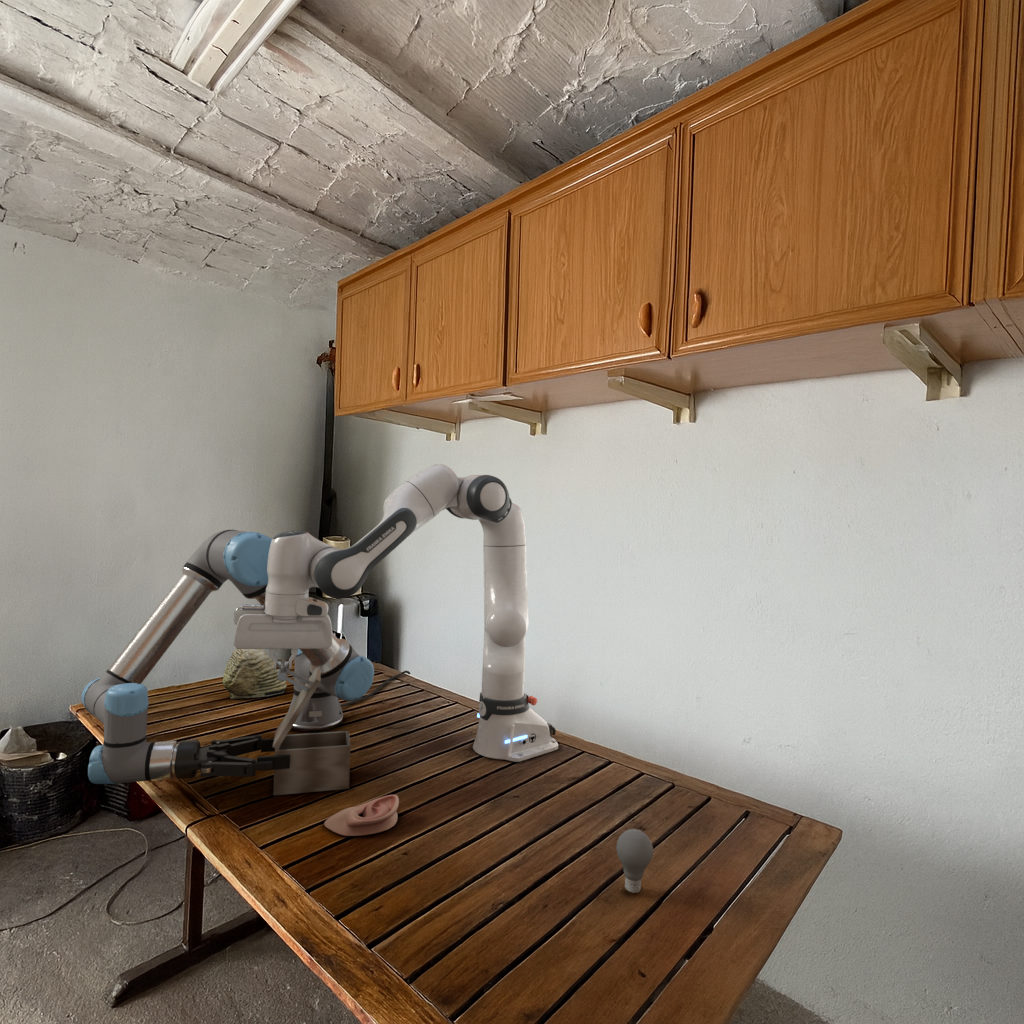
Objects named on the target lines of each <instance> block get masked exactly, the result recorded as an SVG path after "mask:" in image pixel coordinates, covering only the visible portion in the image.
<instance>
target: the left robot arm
mask: <svg viewBox="0 0 1024 1024" xmlns="http://www.w3.org/2000/svg"><path fill="white" fill-rule="evenodd" d="M272 539H273V538H272V537H269V536H267V535H266V534H263V533H260V532H257V531H244V530H236V529H224V530H220V531H217V532H215V533H213V534H212V535H210V536H208V538H207V539H206V540H204V541H203V542H202V543H201V544H200V545H199V547H198V548H197V549H196V550H195V551H194V552H193V553H192V555H191V556H190V557H189V558H188V559H187V561H185V563H184V565H183V566H182V567H181V572H182V573H181V576H180V577H179V578H178V580H177V581H176V582H175V583H174V585H173V586H172V588H170V590H169V591H168V593H166V594H165V596H164V598H163V599H162V600H161V601H160V602H159V604H158V605H157V607H156V608H155V609H154V610H153V611H152V613H151V614H150V615H149V616H148V617H147V619H146V620H145V622H144V623H143V624H142V625H141V627H140V628H139V629H138V630H137V632H136V633H135V634H134V635H133V637H132V638H131V639H130V641H129V642H128V643H127V644H126V646H125V647H124V648H123V649H122V651H121V652H120V653H119V654H118V656H117V657H116V658H115V659H114V661H113V662H112V663H111V665H110V666H109V667H108V668H107V669H106V670H105V672H104V673H103V675H102V676H101V677H97V678H94V679H93V680H91V681H90V682H88V683H87V684H86V685H85V686H84V688H83V689H82V692H81V703H82V706H83V707H84V708H85V710H86V712H88V713H89V714H90V715H91V716H94V718H96V719H97V720H98V721H99V722H100V723H101V724H103V743H102V744H99V745H96V746H95V747H94V748H93V749H92V751H91V753H90V756H89V760H88V761H89V762H88V765H87V777H88V780H89V781H90V783H91V784H94V785H119V784H128V783H129V784H130V783H141V782H153V781H158V782H159V783H162V782H163V781H165V780H166V781H167V780H168V781H169V780H173V779H174V778H176V779H177V780H185V779H194V778H196V777H197V776H198V774H199V771H200V778H206V777H240V778H241V777H244V778H251V777H255V776H256V775H257V772H261V771H274V770H277V769H290V755H275V754H273V755H262V756H260V755H259V756H257V757H256V758H250V757H243V755H246V754H250V753H255V752H259V751H260V753H272V752H275V748H273V742H274V737H273V738H263V737H262V736H263V735H262V734H255V735H247V736H241V737H235V738H226V739H213V740H211V741H210V745H207V746H201V741H200V740H199V739H189V740H188V739H185V740H181V741H179V742H178V741H177V740H166V741H165V740H164V741H153V742H152V741H151V742H149V741H147V730H148V713H149V705H150V704H149V703H150V702H149V701H150V700H149V691H148V687H147V686H146V685H145V684H142V683H143V682H144V681H145V679H146V678H147V677H148V676H149V674H150V673H151V672H152V671H153V669H154V667H156V665H157V664H158V662H159V661H160V660H161V659H162V657H163V656H164V655H165V653H166V652H167V650H168V649H169V648H170V647H171V646H172V644H173V643H174V642H175V640H176V639H177V637H178V636H179V635H180V634H181V632H182V631H183V630H184V628H185V627H186V626H187V625H188V623H189V622H190V620H191V619H192V618H193V616H194V615H195V614H196V613H197V612H198V610H199V609H200V607H202V605H203V603H204V602H205V601H206V600H207V598H208V597H209V595H210V594H211V593H213V592H217V591H219V590H220V588H221V587H222V586H223V585H224V583H225V582H226V581H228V580H229V581H230V582H231V583H232V584H233V586H234V587H235V588H236V589H237V590H238V591H239V592H240V593H241V595H242V596H243V597H244V598H245V599H248V600H256V601H257V602H258V603H259V605H265V595H266V587H267V585H268V574H267V563H268V554H269V548H270V544H271V541H272ZM316 668H318V669H320V670H321V682H320V683H319V685H318V687H317V688H316V690H315V691H314V693H313V694H312V696H311V698H310V699H309V701H308V702H307V704H306V705H305V707H304V709H303V710H302V712H301V713H300V715H299V716H298V718H297V720H296V721H295V723H294V724H293V726H292V727H291V729H290V730H291V731H294V732H295V731H296V732H301V733H319V732H326V731H329V730H332V729H335V728H337V727H339V726H340V725H342V723H343V722H344V714H343V709H342V708H345V707H347V706H351V705H353V704H356V703H359V702H362V701H364V700H367V699H368V698H370V697H372V696H374V695H375V694H376V693H377V692H378V691H380V690H381V688H383V687H384V686H385V685H386V684H387V683H389V682H390V681H393V680H394V679H396V678H398V677H401V676H402V675H405V674H408V675H411V674H412V673H411V672H410V671H409V670H404V671H401V672H400V673H401V674H400V673H397V674H395V675H393V676H391V677H389V678H387V679H386V680H384V681H383V682H382V683H381V684H380V685H379V686H377V688H376V689H374V690H373V691H371V692H370V693H369V694H366V693H367V692H368V691H369V690H370V689H371V688H372V687H371V686H372V685H373V682H374V676H375V667H374V664H373V662H372V661H371V660H370V659H369V658H367V657H366V656H364V655H360V654H359V653H358V652H357V651H356V650H355V648H354V647H353V646H352V645H351V644H350V642H349V641H348V640H346V639H345V638H338V637H337V636H336V635H335V634H334V632H332V645H331V647H330V648H328V649H298V654H297V655H296V657H295V658H294V671H293V672H294V673H296V674H298V675H300V676H302V677H304V678H306V679H307V680H309V678H310V677H311V675H312V673H313V672H314V670H315V669H316ZM293 680H295V681H297V682H299V683H301V684H303V685H304V686H305V684H306V683H305V682H303V681H301V680H299V679H297V678H295V677H293ZM301 691H302V689H301V688H299V687H297V686H295V685H294V684H293V695H292V696H293V697H292V699H291V702H290V704H289V708H288V711H289V709H290V708H291V706H292V705H293V703H294V702H295V700H296V698H297V697H298V695H299V694H300V692H301ZM340 701H346V702H345V703H342V704H341V702H340ZM288 711H287V712H288Z"/></svg>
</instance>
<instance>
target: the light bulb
mask: <svg viewBox="0 0 1024 1024" xmlns="http://www.w3.org/2000/svg"><path fill="white" fill-rule="evenodd" d="M615 849H616V854H617V857H618V859H619V861H620V863H621V865H622V867H623V873H624V874H623V875H624V876H625V878H624V888H625V890H627V891H628V892H630V893H634V894H635V893H639V892H640V891H641V889H642V887H641V886H642V879H643V877H644V875H645V871H646V868H647V867H648V866H649V864H650V863H651V861H652V859H653V855H654V847H653V843H652V841H651V838H649V836H648V835H647V834H646V833H645V832H643V831H642V830H641V829H636V828H629V829H627V830H625V831H623V832H622V833H621V834H620V835H619V837H618V839H617V841H616V847H615Z"/></svg>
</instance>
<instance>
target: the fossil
mask: <svg viewBox="0 0 1024 1024" xmlns="http://www.w3.org/2000/svg"><path fill="white" fill-rule="evenodd" d="M278 672H279V669H274V661H273V660H272V658H271V657H270V655H268V654H267V653H266V652H265V649H237V648H235V650H233V651H232V653H231V656H230V657H229V659H228V660H227V663H226V666H225V668H224V671H223V675H222V676H223V677H222V685H223V687H224V688H225V690H226V691H228V693H229V698H230V699H250V698H264V697H271V696H275V695H281V694H284V693H285V691H286V689H287V687H288V686H287V681H286V680H284V681H279V680H278V678H277V676H278Z"/></svg>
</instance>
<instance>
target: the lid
mask: <svg viewBox="0 0 1024 1024" xmlns="http://www.w3.org/2000/svg"><path fill="white" fill-rule="evenodd" d="M284 666H285V663H284V664H281V669H279V672H278V676H277V678H278V680H279V681H284V680H286V682H287V683H290V684H292V685H293V686H294V685H295V686H297V687H299V688H301V689H302V691H301V692H300V694H299V695H298V697H297V698H296V700H295V702H294V703H293V705H292V706H291V708H290V709H289V708H288V710H289V711H287V713H286V714H285V716H284V717H283V719H282V720H281V722H280V723H279V725H278V727H277V728H276V729H275V733H274V736H273V738H274V742H273V748H275V749H278V748H279V746H280V745H281V743H282V742H283V740H284V738H285V737H286V735H289V734H288V733H289V732H290V731H291V730H292V729H291V727H292V726H293V724H294V723H295V721H296V720H297V718H298V716H299V715H300V713H301V712H302V710H303V709H304V707H305V705H306V704H307V702H308V701H309V699H310V698H311V696H312V694H313V693H314V691H315V690H316V688H317V687H318V685H319V683H320V682H321V670H320V669H318V668H316V669H315V670H314V672H313V673H312V675H311V677H310V678H309V680H307V679H306V678H304V677H302V676H300V675H298V674H296V673H294V671H292V670H291V669H284ZM288 675H290V676H291V677H293V678H291V677H289V676H288ZM294 677H295V678H297V679H299V680H301V681H303V682H305V683H306V684H305V686H304V685H303V684H301V683H299V682H297V681H295V680H294Z"/></svg>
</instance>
